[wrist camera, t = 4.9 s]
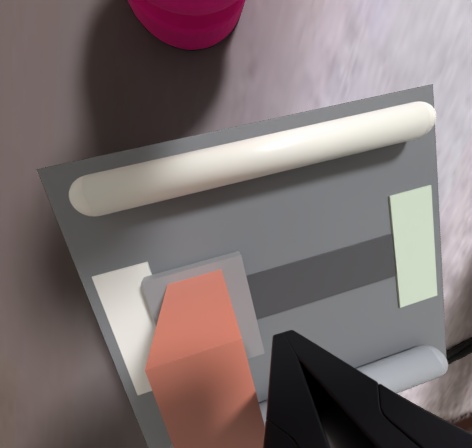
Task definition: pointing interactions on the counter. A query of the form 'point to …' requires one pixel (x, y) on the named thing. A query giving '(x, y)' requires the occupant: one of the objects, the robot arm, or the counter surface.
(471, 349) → the black thin rod
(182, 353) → the lever
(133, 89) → the counter surface
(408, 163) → the box
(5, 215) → the counter surface
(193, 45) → the pepper mill
